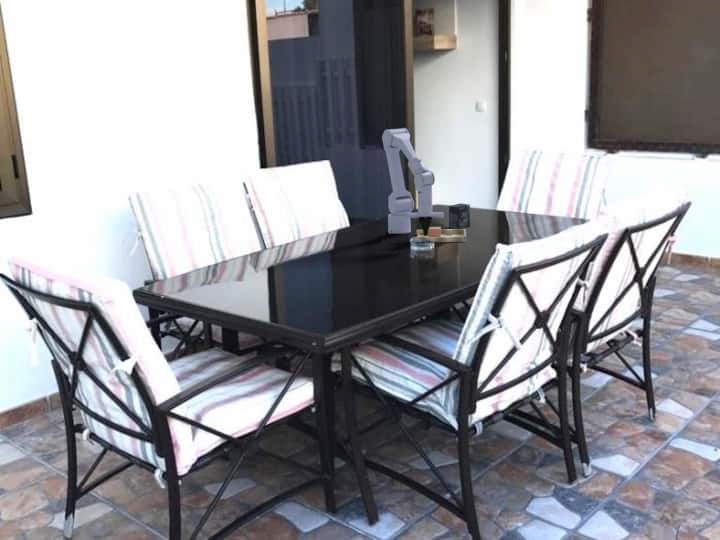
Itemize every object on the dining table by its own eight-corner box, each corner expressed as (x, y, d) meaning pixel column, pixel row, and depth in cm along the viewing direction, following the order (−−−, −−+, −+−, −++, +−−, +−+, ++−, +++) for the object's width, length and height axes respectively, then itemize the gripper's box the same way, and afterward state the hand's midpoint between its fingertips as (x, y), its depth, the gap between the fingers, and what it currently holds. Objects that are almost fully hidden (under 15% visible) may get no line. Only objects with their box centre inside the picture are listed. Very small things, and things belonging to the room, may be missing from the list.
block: (429, 239, 294) (429, 229, 293) (429, 236, 298) (429, 227, 297) (440, 238, 293) (440, 229, 292) (440, 236, 298) (440, 226, 296)
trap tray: (414, 245, 290) (414, 237, 289) (416, 236, 305) (416, 229, 304) (466, 244, 287) (465, 237, 286) (466, 236, 302) (466, 228, 301)
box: (459, 231, 312) (458, 206, 309) (448, 230, 316) (448, 205, 313) (470, 228, 317) (470, 204, 314) (460, 226, 321) (459, 203, 318)
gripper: (406, 204, 290) (407, 237, 293) (442, 203, 288) (443, 237, 291) (407, 201, 297) (408, 234, 300) (443, 200, 294) (444, 233, 298)
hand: (425, 235), depth 296 cm, fingers closed
